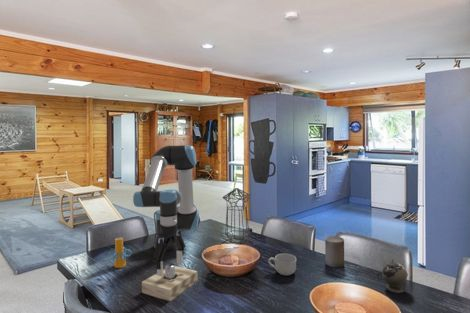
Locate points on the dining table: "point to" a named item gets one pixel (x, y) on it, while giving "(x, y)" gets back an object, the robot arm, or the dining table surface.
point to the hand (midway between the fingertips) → (170, 269)
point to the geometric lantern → (234, 213)
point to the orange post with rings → (119, 254)
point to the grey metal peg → (170, 271)
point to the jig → (169, 284)
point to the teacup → (284, 264)
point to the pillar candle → (334, 251)
